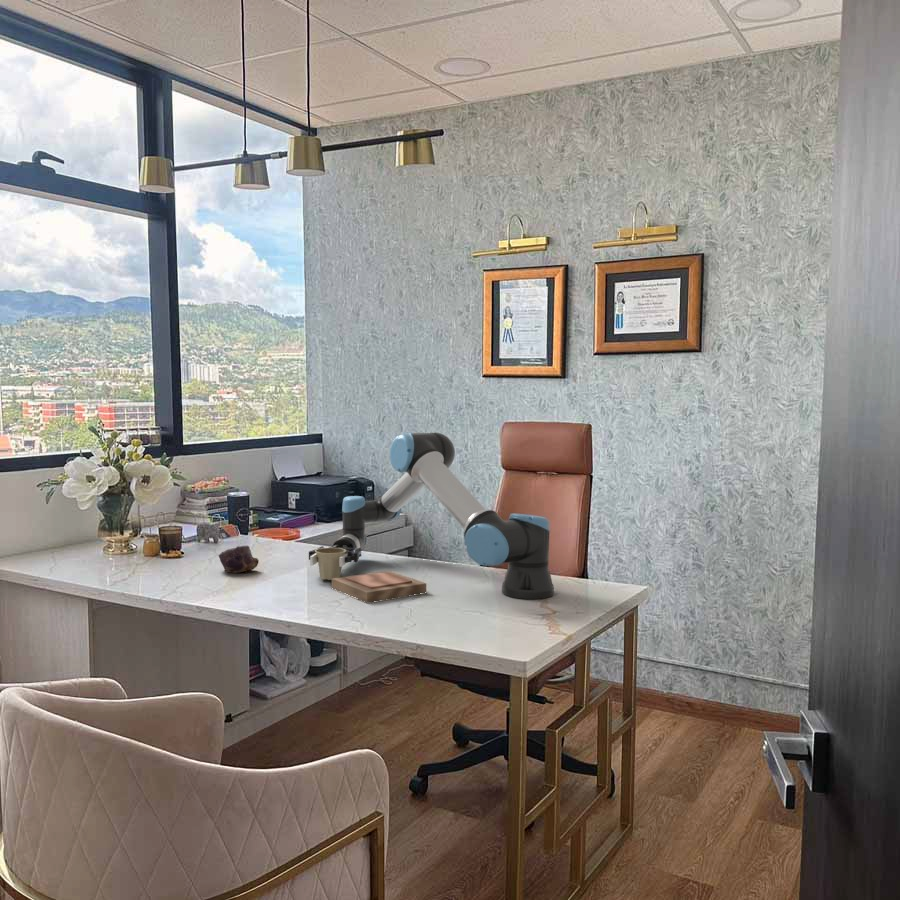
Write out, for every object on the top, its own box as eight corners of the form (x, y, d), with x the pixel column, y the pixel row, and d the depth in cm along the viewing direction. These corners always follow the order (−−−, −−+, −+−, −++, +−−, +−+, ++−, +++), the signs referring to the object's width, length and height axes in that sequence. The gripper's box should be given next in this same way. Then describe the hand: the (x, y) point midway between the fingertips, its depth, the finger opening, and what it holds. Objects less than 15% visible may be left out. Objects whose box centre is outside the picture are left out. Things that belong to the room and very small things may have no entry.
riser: (388, 580, 259) (389, 569, 258) (426, 593, 243) (426, 581, 243) (331, 588, 247) (331, 576, 247) (366, 603, 231) (367, 590, 231)
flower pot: (329, 573, 264) (329, 546, 264) (352, 577, 259) (352, 549, 258) (308, 578, 256) (308, 550, 256) (331, 583, 251) (331, 554, 251)
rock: (232, 571, 274) (213, 576, 264) (229, 545, 274) (209, 549, 264) (262, 569, 269) (243, 574, 260) (259, 542, 269) (240, 547, 260)
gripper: (377, 560, 274) (360, 575, 251) (314, 557, 277) (292, 572, 254) (377, 537, 273) (360, 550, 251) (314, 535, 276) (292, 547, 254)
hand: (325, 561), depth 253 cm, fingers closed on flower pot, 8 cm apart
